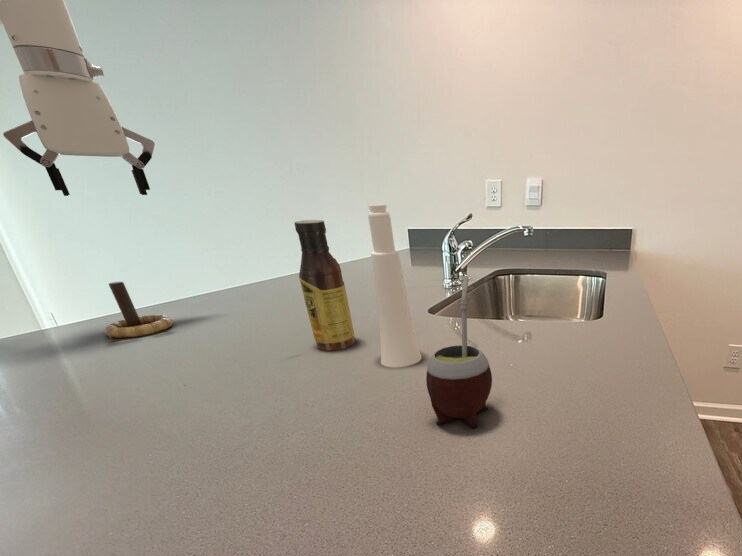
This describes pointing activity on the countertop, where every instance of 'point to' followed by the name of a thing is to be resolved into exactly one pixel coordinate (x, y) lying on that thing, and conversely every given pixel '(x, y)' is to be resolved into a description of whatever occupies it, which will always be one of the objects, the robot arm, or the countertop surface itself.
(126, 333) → the ring
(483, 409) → the mate gourd
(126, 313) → the peg stand
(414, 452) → the countertop surface
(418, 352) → the cosmetic bottle
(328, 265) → the sauce bottle
